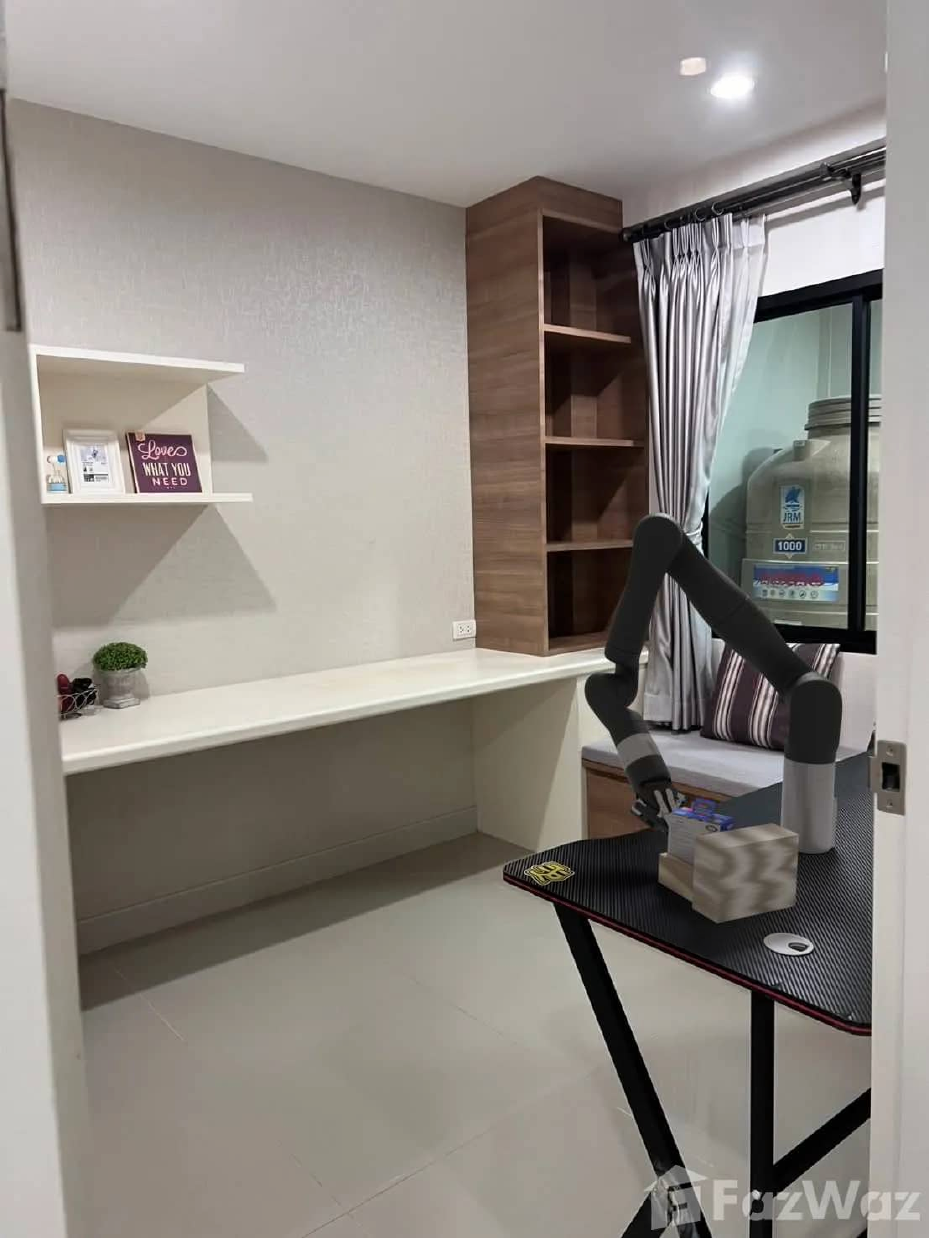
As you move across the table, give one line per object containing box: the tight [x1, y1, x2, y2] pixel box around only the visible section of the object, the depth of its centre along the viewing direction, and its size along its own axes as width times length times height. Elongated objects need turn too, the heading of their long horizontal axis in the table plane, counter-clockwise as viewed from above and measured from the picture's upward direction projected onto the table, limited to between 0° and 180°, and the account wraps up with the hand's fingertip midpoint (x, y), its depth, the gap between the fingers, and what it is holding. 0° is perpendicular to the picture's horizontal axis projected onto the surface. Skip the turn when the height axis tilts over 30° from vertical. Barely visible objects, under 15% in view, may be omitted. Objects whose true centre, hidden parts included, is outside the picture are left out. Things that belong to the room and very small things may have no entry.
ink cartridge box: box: [667, 797, 735, 867], centre depth 158 cm, size 10×6×14 cm, turn 49°
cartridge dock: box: [658, 822, 799, 924], centre depth 154 cm, size 16×17×12 cm
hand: (680, 848), depth 164 cm, fingers closed
